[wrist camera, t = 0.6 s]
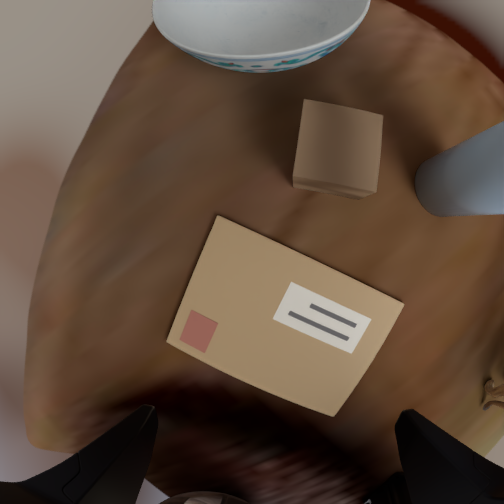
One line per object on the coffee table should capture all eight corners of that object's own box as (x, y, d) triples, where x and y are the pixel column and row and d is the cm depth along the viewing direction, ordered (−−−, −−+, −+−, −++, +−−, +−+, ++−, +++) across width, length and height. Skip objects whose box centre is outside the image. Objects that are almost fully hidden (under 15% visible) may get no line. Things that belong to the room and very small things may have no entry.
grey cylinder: (467, 176, 19) (577, 147, 6) (452, 227, 19) (569, 231, 7) (424, 147, 19) (524, 86, 6) (406, 199, 20) (517, 173, 7)
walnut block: (365, 137, 20) (383, 115, 15) (358, 199, 21) (376, 192, 16) (302, 125, 21) (303, 98, 16) (293, 187, 21) (292, 175, 16)
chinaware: (323, 135, 20) (335, 91, 13) (159, 85, 22) (114, 44, 14) (370, 13, 18) (386, -39, 11) (228, -20, 20) (211, -68, 12)
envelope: (403, 303, 20) (404, 304, 20) (333, 415, 22) (333, 417, 22) (218, 215, 22) (217, 215, 22) (167, 340, 24) (166, 341, 23)
